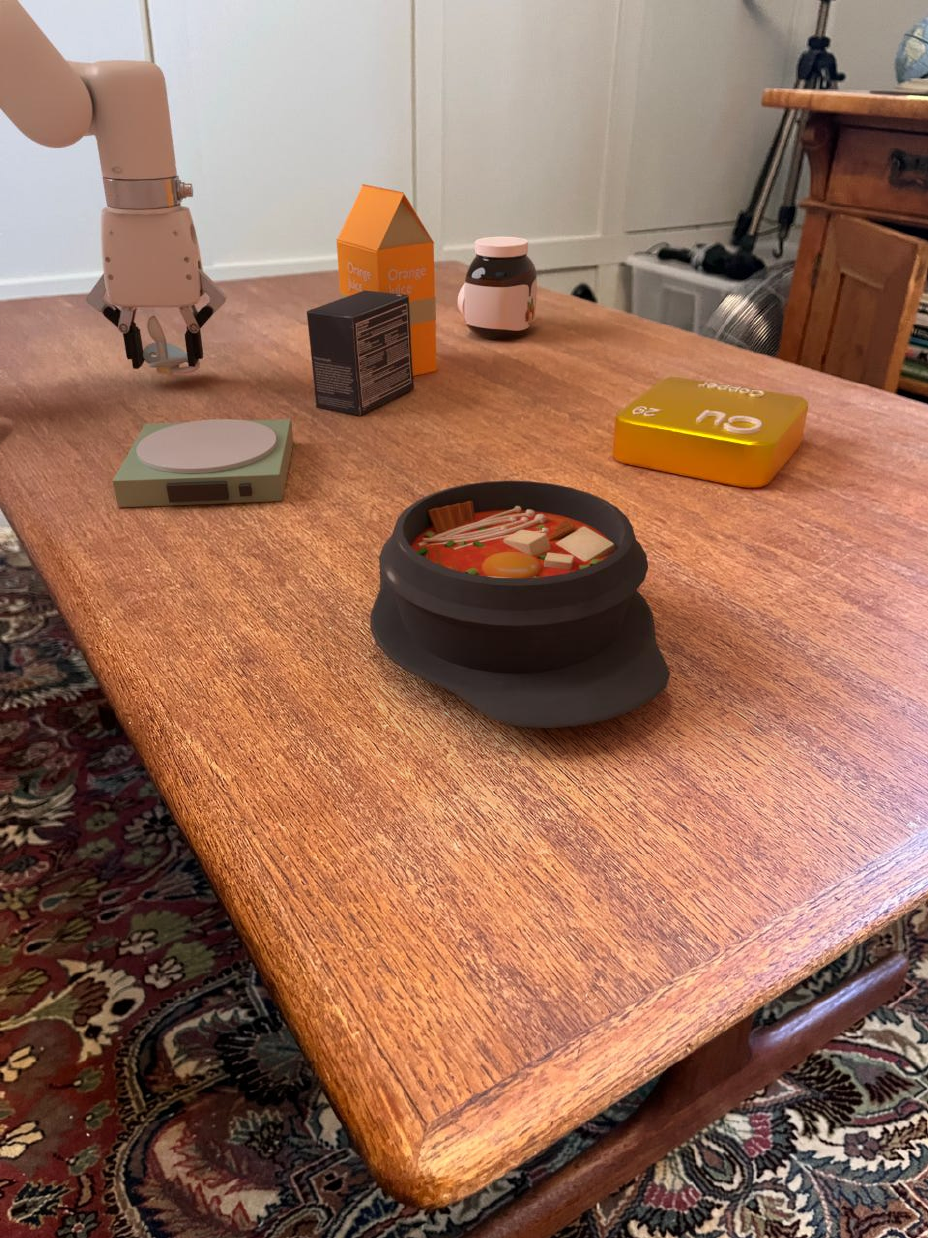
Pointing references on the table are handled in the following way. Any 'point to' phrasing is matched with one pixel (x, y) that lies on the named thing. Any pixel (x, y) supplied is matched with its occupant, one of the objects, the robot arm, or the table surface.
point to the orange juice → (392, 263)
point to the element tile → (710, 431)
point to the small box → (361, 351)
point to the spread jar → (499, 289)
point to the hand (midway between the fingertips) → (166, 363)
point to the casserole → (521, 603)
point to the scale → (206, 463)
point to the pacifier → (164, 352)
